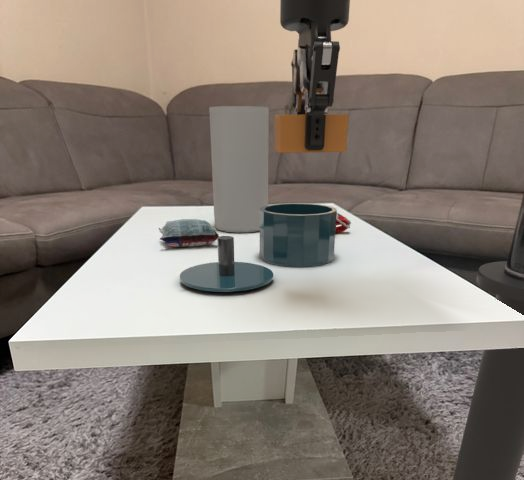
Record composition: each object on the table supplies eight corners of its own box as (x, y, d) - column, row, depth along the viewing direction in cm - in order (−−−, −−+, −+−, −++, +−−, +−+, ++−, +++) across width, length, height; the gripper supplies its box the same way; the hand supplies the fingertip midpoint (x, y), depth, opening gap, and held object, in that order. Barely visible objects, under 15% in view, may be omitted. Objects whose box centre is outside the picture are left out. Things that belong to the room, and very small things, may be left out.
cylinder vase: (267, 233, 101) (267, 106, 90) (211, 233, 101) (205, 106, 91) (268, 223, 112) (269, 108, 101) (218, 222, 113) (213, 108, 102)
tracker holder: (321, 235, 94) (286, 218, 99) (319, 254, 97) (285, 236, 102) (357, 215, 100) (322, 199, 105) (354, 233, 103) (320, 217, 108)
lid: (237, 263, 79) (236, 224, 76) (292, 283, 69) (293, 239, 66) (163, 278, 71) (159, 235, 68) (213, 303, 61) (210, 254, 58)
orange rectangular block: (336, 150, 58) (338, 115, 57) (346, 152, 54) (348, 114, 53) (274, 151, 57) (274, 115, 56) (280, 152, 54) (280, 114, 52)
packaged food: (159, 240, 94) (157, 216, 92) (216, 238, 97) (215, 214, 94) (160, 251, 87) (158, 225, 85) (222, 248, 89) (221, 222, 87)
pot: (298, 245, 91) (300, 201, 87) (348, 258, 82) (352, 209, 78) (245, 255, 84) (245, 207, 80) (293, 271, 74) (295, 218, 71)
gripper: (372, -49, 42) (357, 151, 50) (332, -8, 55) (325, 147, 63) (293, -52, 42) (289, 152, 49) (271, -9, 54) (271, 147, 62)
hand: (309, 148), depth 56 cm, fingers closed on orange rectangular block, 4 cm apart
